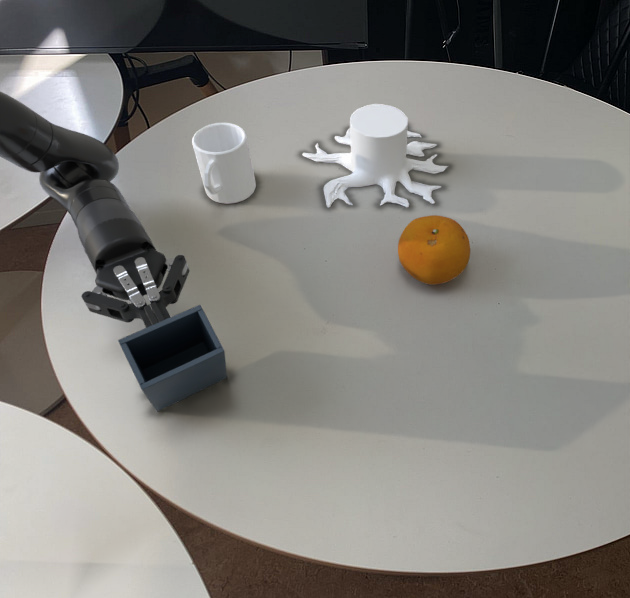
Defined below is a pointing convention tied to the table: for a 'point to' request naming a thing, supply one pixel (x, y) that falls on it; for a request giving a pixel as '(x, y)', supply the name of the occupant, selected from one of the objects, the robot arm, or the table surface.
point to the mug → (224, 162)
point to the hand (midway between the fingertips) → (163, 331)
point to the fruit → (434, 249)
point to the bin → (175, 357)
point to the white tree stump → (378, 156)
